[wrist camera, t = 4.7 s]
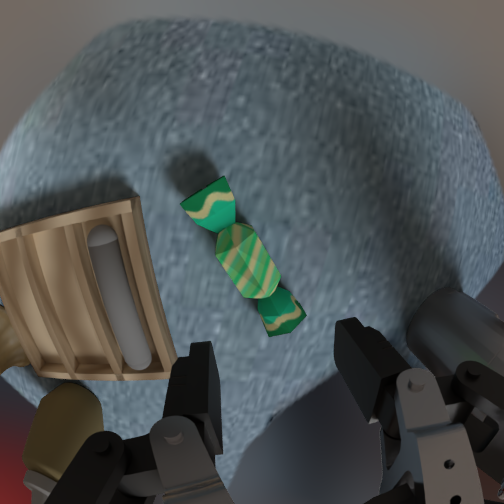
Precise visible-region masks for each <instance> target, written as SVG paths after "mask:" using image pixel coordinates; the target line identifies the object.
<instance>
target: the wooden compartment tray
mask: <svg viewBox="0 0 504 504" xmlns="http://www.w3.org/2000/svg"><path fill="white" fill-rule="evenodd" d="M101 224H103V225H108V226H110V227H112V228H113V229H114V230H115V231H116V233H117V236H118V240H119V244H120V249H121V253H122V257H123V262H124V266H125V270H126V274H127V278H128V281H129V285H130V289H131V292H132V296H133V299H134V303H135V306H136V309H137V313H138V316H139V319H140V322H141V325H142V328H143V331H144V334H145V337H146V340H147V343H148V346H149V349H150V351H151V355H152V360H151V363H150V365H149V366H148V367H147V368H145V369H143V370H135V369H132V368H131V367H129V366H128V364H127V363H126V361H125V359H124V357H123V354H122V352H121V349H120V347H119V344H118V342H117V339H116V337H115V334H114V332H113V329H112V326H111V323H110V321H109V318H108V315H107V312H106V309H105V306H104V303H103V300H102V297H101V294H100V291H99V287H98V284H97V281H96V277H95V274H94V270H93V266H92V263H91V259H90V255H89V251H88V247H87V237H88V234H89V232H90V231H91V229H93V228H94V227H95V226H97V225H101ZM0 296H1V299H2V302H3V304H4V307H5V310H6V312H7V315H8V317H9V319H10V322H11V324H12V326H13V329H14V331H15V333H16V335H17V337H18V339H19V341H20V343H21V346H22V348H23V350H24V351H25V353H26V355H27V357H28V359H29V361H30V363H31V365H32V366H33V368H34V370H35V372H36V373H37V375H38V377H47V378H59V379H75V380H105V381H125V380H157V379H169V378H170V373H171V368H172V365H173V364H174V363H175V362H176V360H177V359H178V357H177V354H176V351H175V348H174V344H173V341H172V338H171V334H170V331H169V328H168V324H167V320H166V317H165V313H164V309H163V306H162V302H161V298H160V294H159V290H158V286H157V282H156V278H155V273H154V269H153V265H152V260H151V255H150V251H149V246H148V241H147V236H146V230H145V225H144V220H143V214H142V208H141V202H140V196H137V197H132V198H127V199H122V200H117V201H112V202H108V203H103V204H99V205H94V206H90V207H85V208H81V209H77V210H73V211H69V212H65V213H61V214H57V215H53V216H49V217H46V218H42V219H38V220H35V221H31V222H28V223H24V224H21V225H18V226H14V227H11V228H8V229H5V230H2V231H0Z"/></svg>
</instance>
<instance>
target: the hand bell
mask: <svg viewBox="0 0 504 504" xmlns="http://www.w3.org/2000/svg"><path fill="white" fill-rule="evenodd" d="M29 364H30V361H29V359H28V357H27V355H26V353H25V351H24V350H23V348H22V346H21V343H20V341H19V339H18V337H17V335H16V333H15V331H14V329H13V326H12V324H11V322H10V319H9V317H8V315H7V312H6V310H5V307H3V306H1V305H0V375H1V374H2V373H3V372H4V371H5V370H6V369H8V368H10V367H12V366H18V367H24V366H27V365H29Z"/></svg>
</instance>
